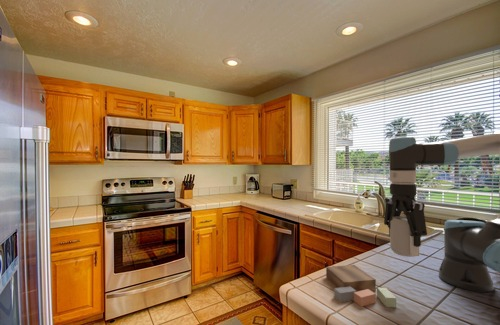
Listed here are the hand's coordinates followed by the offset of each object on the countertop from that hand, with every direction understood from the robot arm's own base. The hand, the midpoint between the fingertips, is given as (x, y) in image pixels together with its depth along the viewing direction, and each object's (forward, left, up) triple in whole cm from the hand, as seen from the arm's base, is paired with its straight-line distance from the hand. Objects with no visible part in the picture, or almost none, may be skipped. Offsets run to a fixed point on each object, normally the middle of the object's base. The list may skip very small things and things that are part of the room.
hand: (404, 251), depth 78 cm
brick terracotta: (+15, +1, -15) cm, 22 cm away
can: (0, 0, -1) cm, 1 cm away
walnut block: (+13, -10, -15) cm, 22 cm away
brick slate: (+20, -2, -15) cm, 26 cm away
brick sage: (+8, +2, -15) cm, 17 cm away
